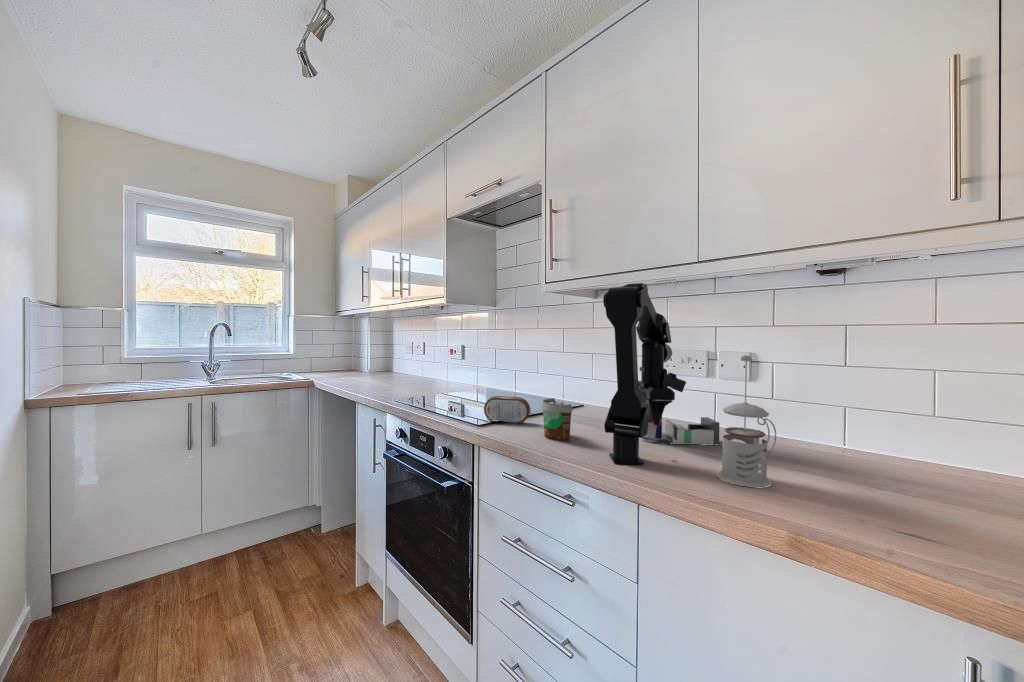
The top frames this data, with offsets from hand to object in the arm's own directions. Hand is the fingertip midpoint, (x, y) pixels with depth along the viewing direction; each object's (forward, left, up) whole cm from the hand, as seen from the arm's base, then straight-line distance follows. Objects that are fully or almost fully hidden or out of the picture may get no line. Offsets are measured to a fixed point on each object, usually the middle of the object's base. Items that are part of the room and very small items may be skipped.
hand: (651, 421), depth 111 cm
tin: (+18, +41, -6) cm, 45 cm away
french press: (-28, -11, -6) cm, 31 cm away
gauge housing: (0, -10, -5) cm, 11 cm away
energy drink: (0, 0, -6) cm, 6 cm away
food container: (+1, +27, -6) cm, 28 cm away
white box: (-1, -7, -4) cm, 8 cm away
